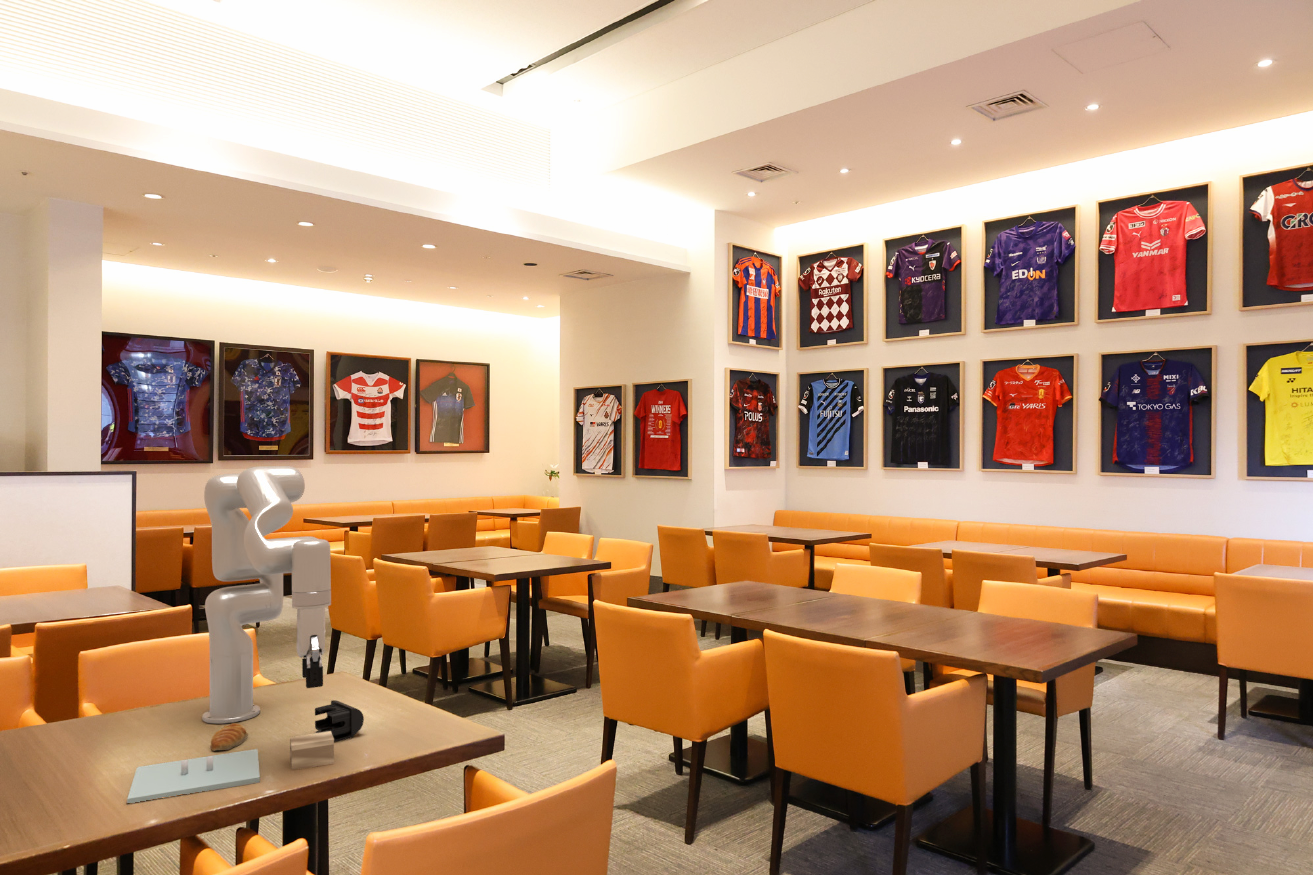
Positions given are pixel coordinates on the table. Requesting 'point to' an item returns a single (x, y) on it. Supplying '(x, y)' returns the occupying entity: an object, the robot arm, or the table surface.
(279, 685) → the table surface
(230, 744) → the pastry
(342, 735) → the end cap
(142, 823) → the table surface
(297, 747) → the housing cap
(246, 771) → the base plate
